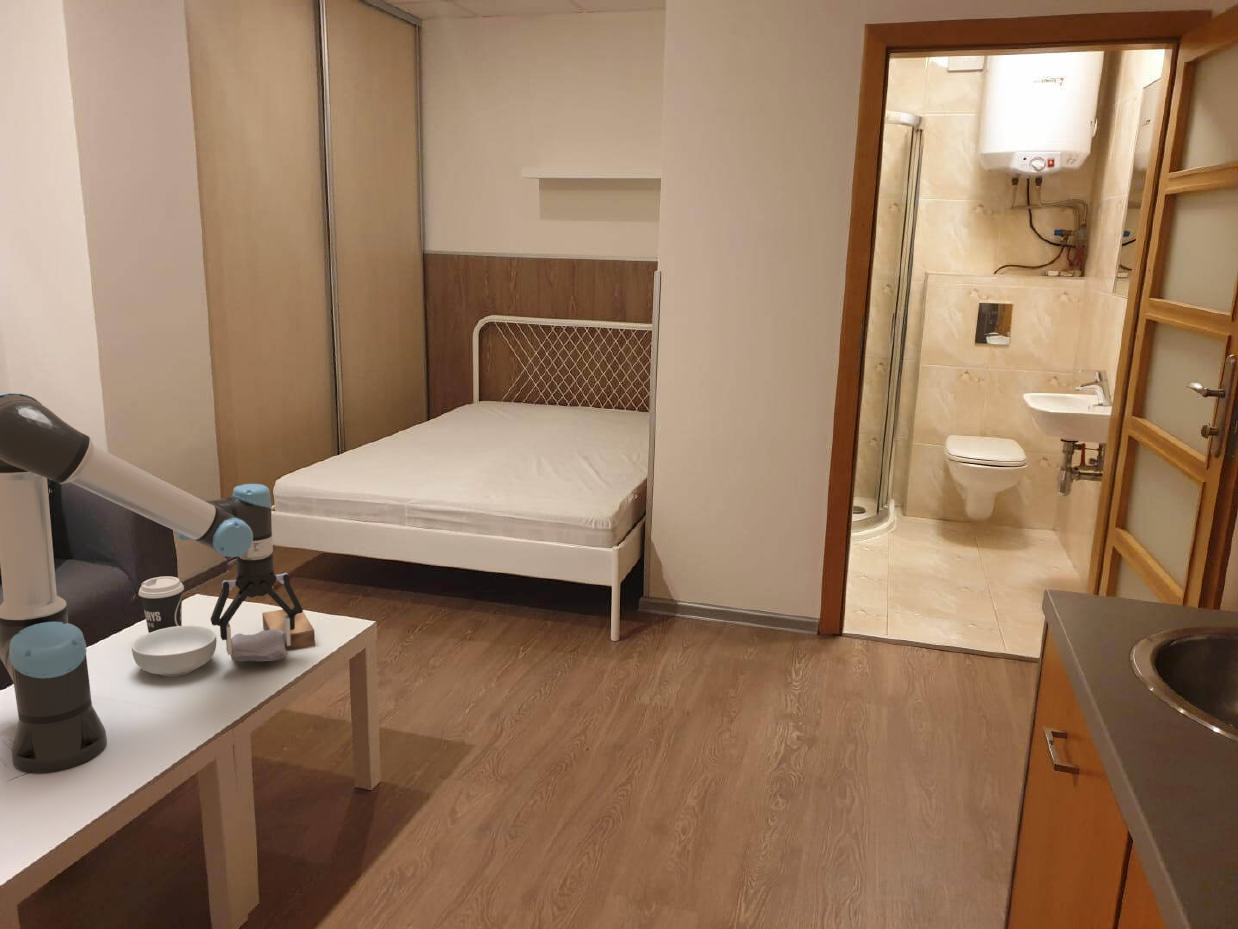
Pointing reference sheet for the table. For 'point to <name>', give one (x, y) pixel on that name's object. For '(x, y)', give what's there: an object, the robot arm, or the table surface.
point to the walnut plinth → (300, 634)
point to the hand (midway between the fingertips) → (258, 648)
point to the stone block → (259, 646)
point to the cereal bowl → (174, 650)
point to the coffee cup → (162, 602)
